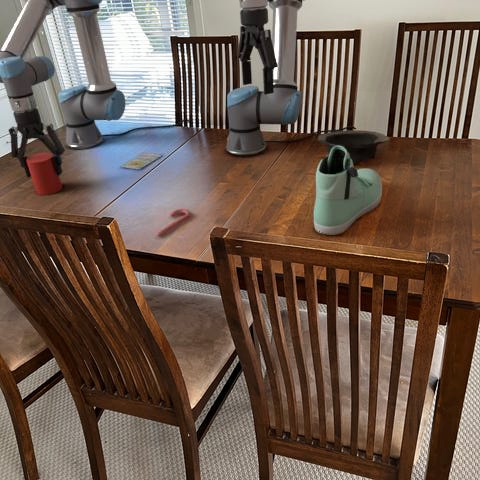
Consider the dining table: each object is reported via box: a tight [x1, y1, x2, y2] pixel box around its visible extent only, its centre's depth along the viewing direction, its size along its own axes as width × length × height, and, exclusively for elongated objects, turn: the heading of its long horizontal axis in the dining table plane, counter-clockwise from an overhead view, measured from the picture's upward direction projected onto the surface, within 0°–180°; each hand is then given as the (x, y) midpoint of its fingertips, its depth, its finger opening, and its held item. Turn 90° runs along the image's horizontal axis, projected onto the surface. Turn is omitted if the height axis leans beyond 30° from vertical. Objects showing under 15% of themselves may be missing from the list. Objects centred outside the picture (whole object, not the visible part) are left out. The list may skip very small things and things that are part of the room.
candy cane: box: [156, 208, 192, 238], centre depth 138 cm, size 6×15×2 cm, turn 145°
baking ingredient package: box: [119, 152, 162, 170], centre depth 182 cm, size 9×1×15 cm
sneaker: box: [313, 146, 383, 236], centre depth 133 cm, size 14×35×20 cm, turn 152°
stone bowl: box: [316, 129, 390, 165], centre depth 170 cm, size 25×25×9 cm
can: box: [26, 152, 63, 196], centre depth 163 cm, size 9×9×12 cm
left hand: (45, 174), depth 163 cm, fingers open, 10 cm apart
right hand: (257, 88), depth 140 cm, fingers open, 13 cm apart
